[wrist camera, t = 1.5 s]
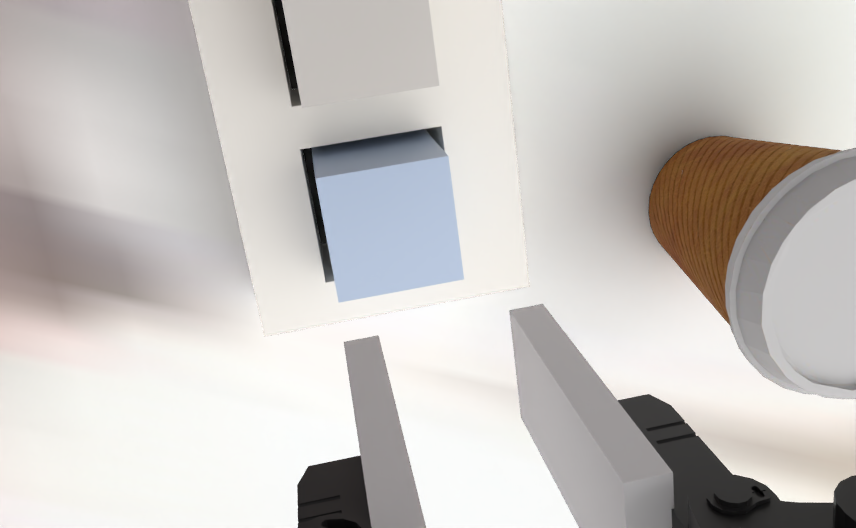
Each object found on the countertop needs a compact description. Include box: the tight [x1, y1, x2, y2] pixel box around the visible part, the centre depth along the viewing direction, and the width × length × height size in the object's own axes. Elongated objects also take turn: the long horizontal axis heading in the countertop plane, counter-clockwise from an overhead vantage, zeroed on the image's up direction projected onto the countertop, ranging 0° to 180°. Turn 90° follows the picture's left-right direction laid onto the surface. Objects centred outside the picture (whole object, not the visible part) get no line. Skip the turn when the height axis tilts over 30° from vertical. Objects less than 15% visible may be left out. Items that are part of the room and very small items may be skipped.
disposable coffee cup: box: [649, 136, 856, 399], centre depth 34 cm, size 10×10×12 cm
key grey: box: [282, 0, 439, 108], centre depth 29 cm, size 5×5×6 cm
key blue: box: [311, 129, 464, 303], centre depth 31 cm, size 5×5×6 cm
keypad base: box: [188, 0, 530, 337], centre depth 31 cm, size 11×23×5 cm, turn 8°
